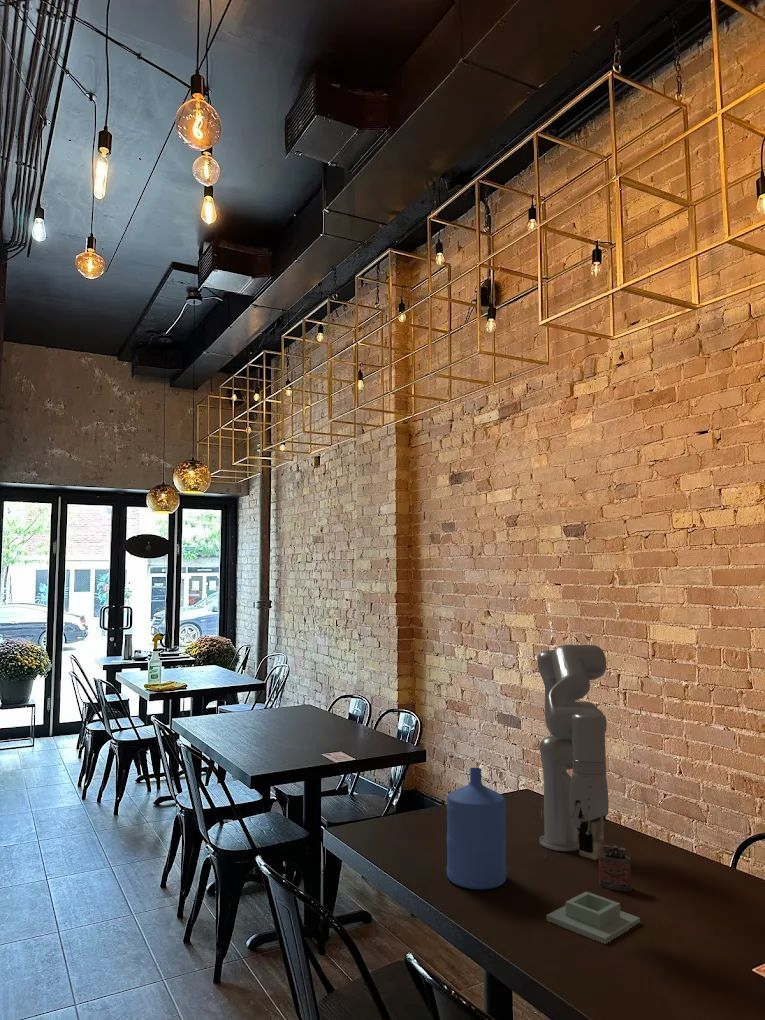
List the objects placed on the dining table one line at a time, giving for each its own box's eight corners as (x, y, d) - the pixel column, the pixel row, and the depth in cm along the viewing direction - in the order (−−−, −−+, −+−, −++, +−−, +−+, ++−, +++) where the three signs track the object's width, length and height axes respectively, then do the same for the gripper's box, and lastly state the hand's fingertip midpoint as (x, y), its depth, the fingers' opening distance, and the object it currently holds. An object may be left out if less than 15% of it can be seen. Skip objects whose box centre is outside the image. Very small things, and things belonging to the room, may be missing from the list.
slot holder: (582, 902, 174) (582, 884, 174) (640, 923, 163) (639, 903, 163) (546, 920, 164) (546, 901, 164) (605, 944, 153) (604, 923, 153)
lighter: (631, 886, 183) (630, 845, 185) (631, 891, 180) (630, 850, 181) (599, 882, 186) (598, 842, 187) (598, 887, 183) (597, 846, 184)
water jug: (505, 893, 179) (504, 778, 182) (443, 887, 182) (443, 774, 185) (507, 870, 194) (506, 763, 197) (450, 865, 197) (449, 760, 200)
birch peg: (588, 851, 168) (587, 815, 169) (604, 855, 165) (603, 819, 166) (579, 855, 165) (578, 819, 166) (595, 859, 162) (593, 823, 163)
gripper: (594, 759, 176) (596, 837, 173) (555, 769, 165) (557, 853, 162) (622, 764, 170) (624, 845, 168) (583, 775, 159) (586, 862, 157)
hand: (591, 848), depth 165 cm, fingers closed on birch peg, 3 cm apart
